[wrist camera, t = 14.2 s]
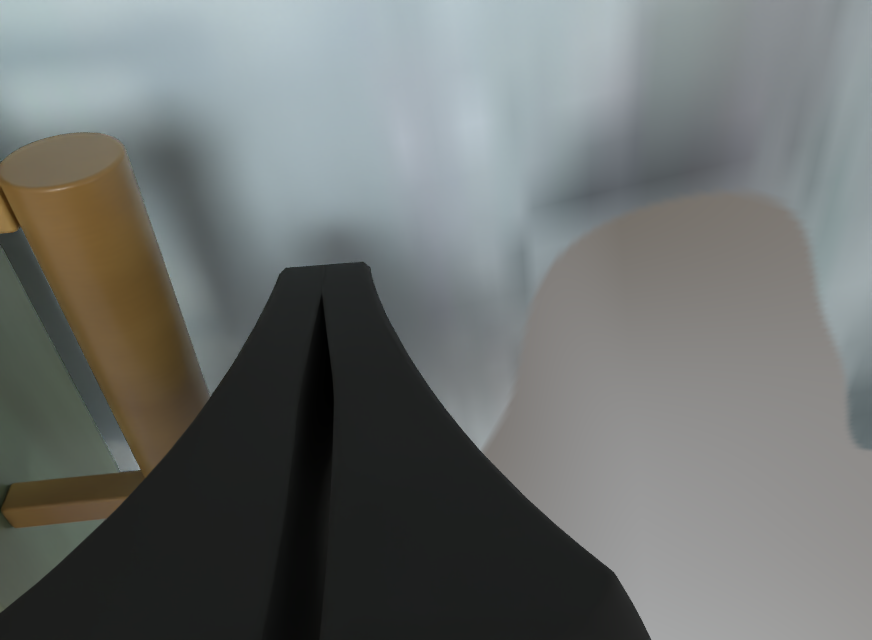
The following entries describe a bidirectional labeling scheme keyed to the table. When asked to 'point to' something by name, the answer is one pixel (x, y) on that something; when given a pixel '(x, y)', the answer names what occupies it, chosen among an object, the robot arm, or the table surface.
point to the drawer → (99, 341)
